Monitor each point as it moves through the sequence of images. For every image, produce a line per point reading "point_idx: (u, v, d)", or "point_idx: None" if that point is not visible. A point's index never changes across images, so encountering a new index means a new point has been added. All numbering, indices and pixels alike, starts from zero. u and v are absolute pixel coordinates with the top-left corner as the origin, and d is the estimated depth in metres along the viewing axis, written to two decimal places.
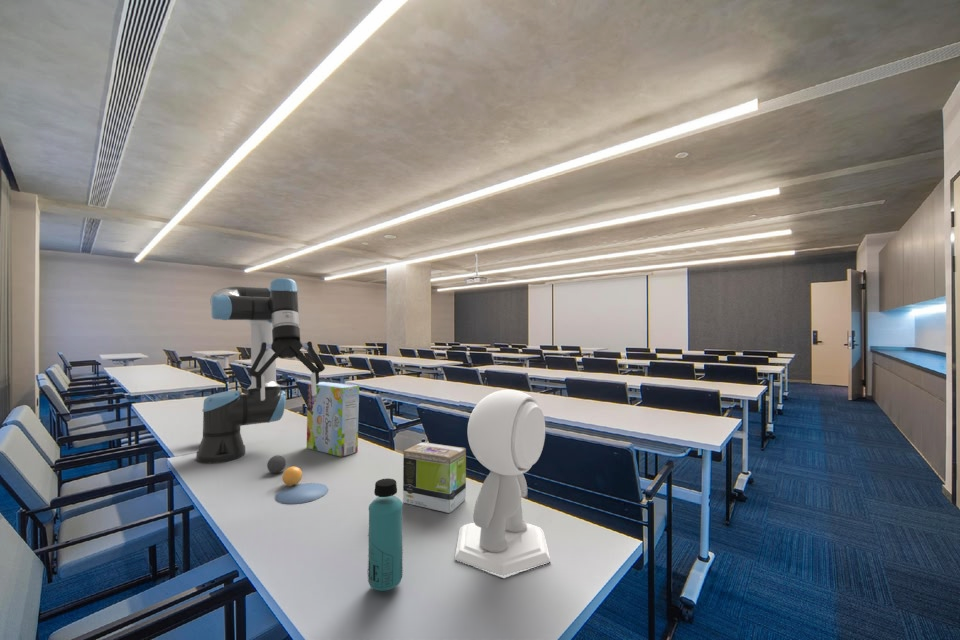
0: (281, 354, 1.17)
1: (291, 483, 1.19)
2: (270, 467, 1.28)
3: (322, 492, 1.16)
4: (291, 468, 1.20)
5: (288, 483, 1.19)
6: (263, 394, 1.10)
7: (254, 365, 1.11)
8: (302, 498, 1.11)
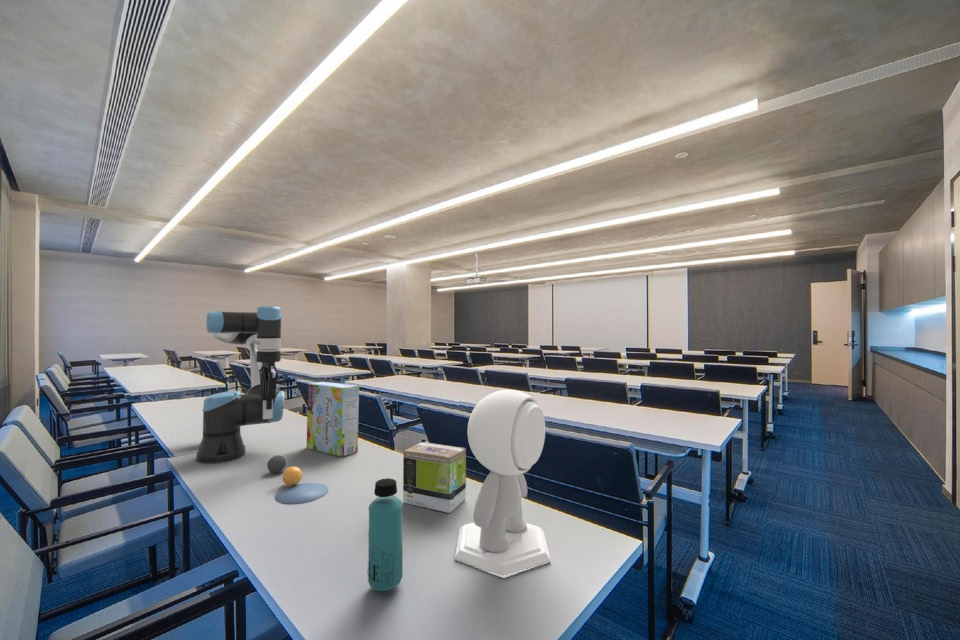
0: (263, 374, 1.39)
1: (291, 483, 1.19)
2: (270, 467, 1.28)
3: (322, 492, 1.16)
4: (291, 468, 1.20)
5: (288, 483, 1.19)
6: (263, 415, 1.38)
7: (260, 389, 1.40)
8: (302, 498, 1.11)
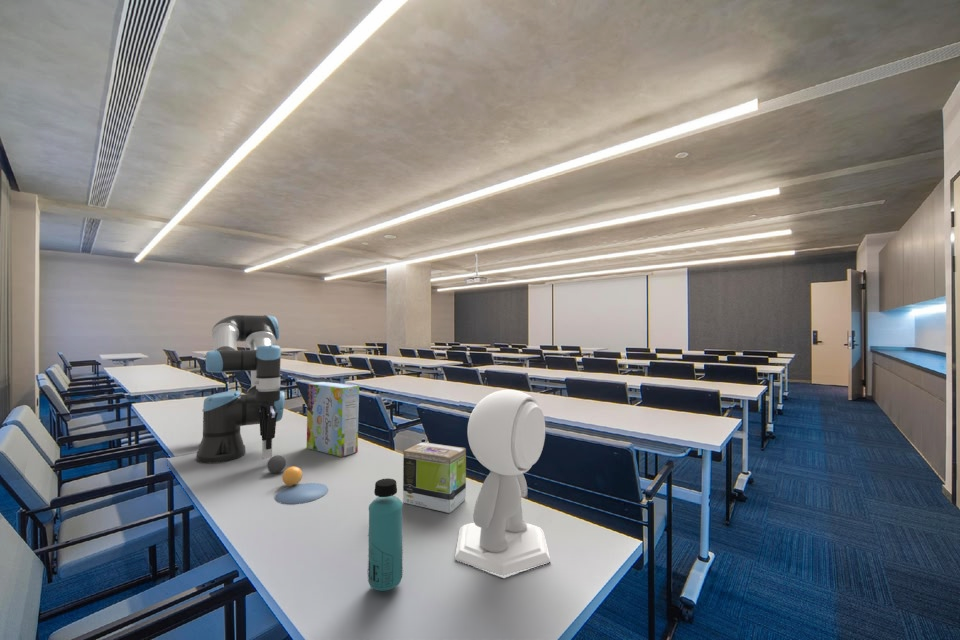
0: None
1: (291, 483, 1.19)
2: (270, 467, 1.28)
3: (322, 492, 1.16)
4: (291, 468, 1.20)
5: (288, 483, 1.19)
6: (262, 454, 1.37)
7: (260, 428, 1.40)
8: (302, 498, 1.11)
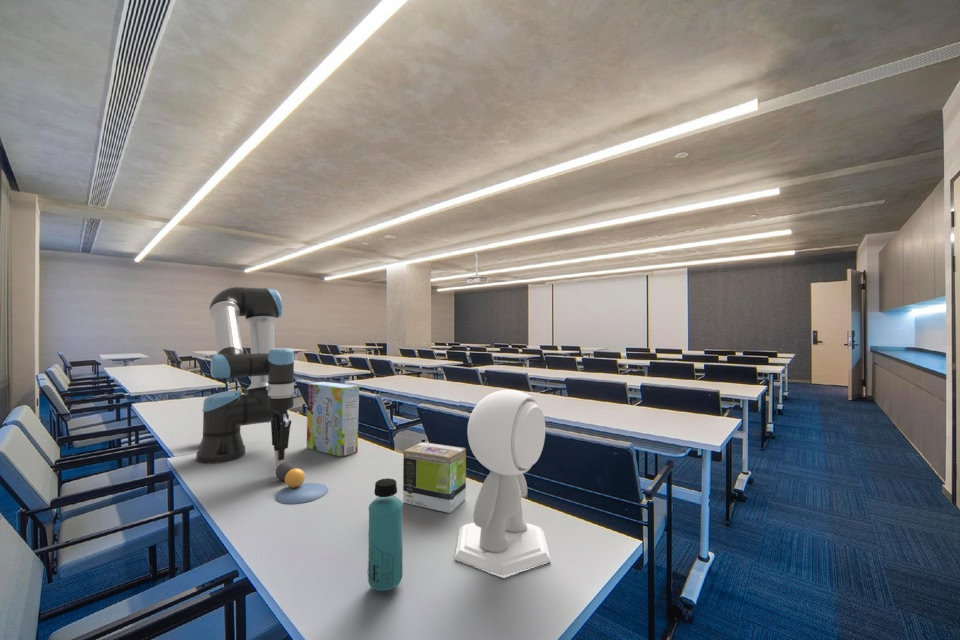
0: None
1: (292, 487, 1.18)
2: None
3: (322, 492, 1.16)
4: (296, 475, 1.17)
5: (289, 486, 1.18)
6: (274, 465, 1.28)
7: (272, 437, 1.31)
8: (302, 498, 1.11)
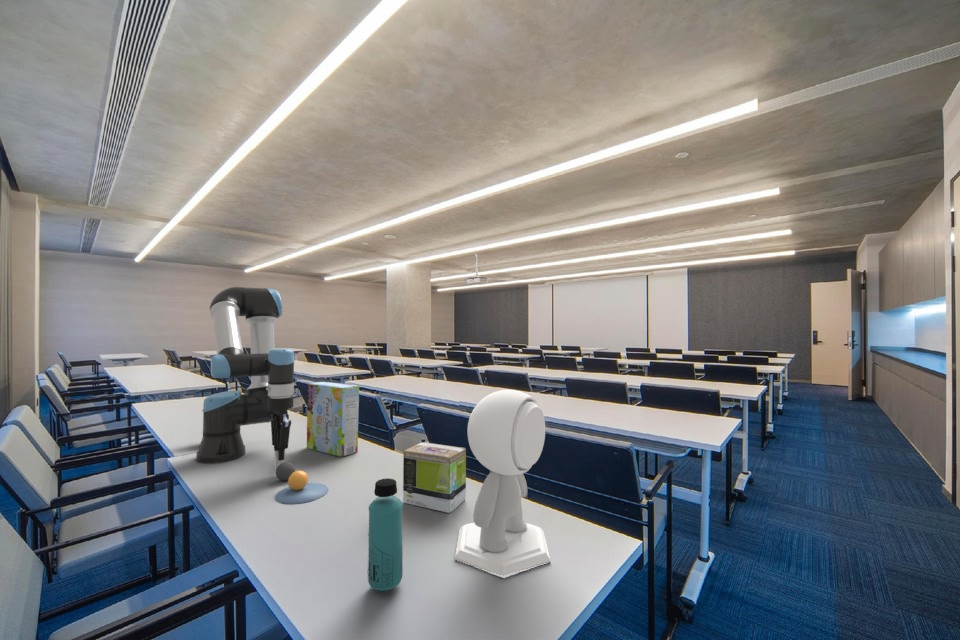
0: None
1: None
2: None
3: (322, 492, 1.16)
4: (299, 486, 1.15)
5: None
6: (274, 466, 1.28)
7: (272, 437, 1.31)
8: (302, 498, 1.11)
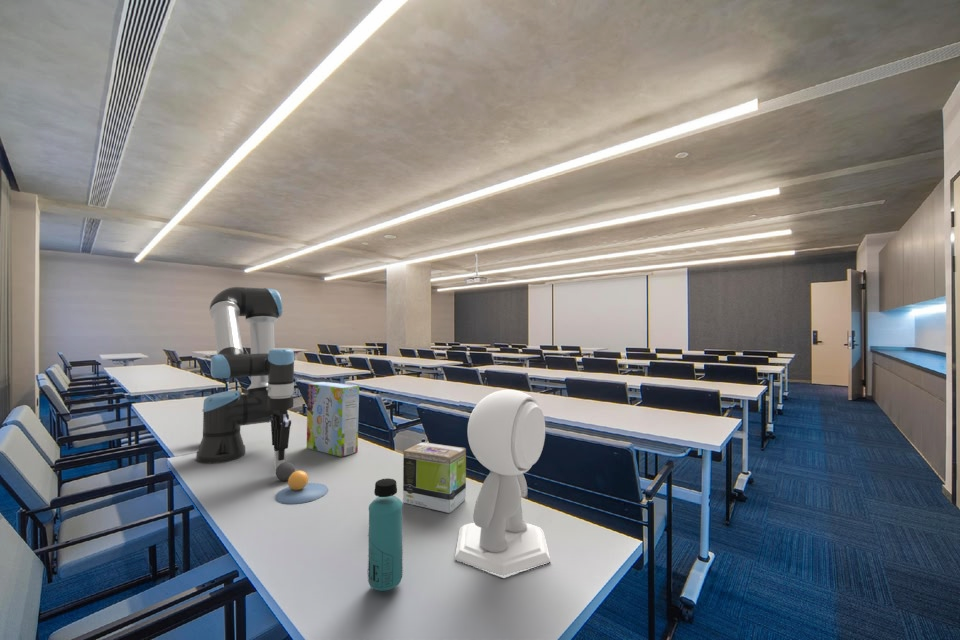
0: None
1: None
2: None
3: (322, 492, 1.16)
4: (299, 486, 1.15)
5: None
6: (274, 466, 1.28)
7: (272, 437, 1.31)
8: (302, 498, 1.11)
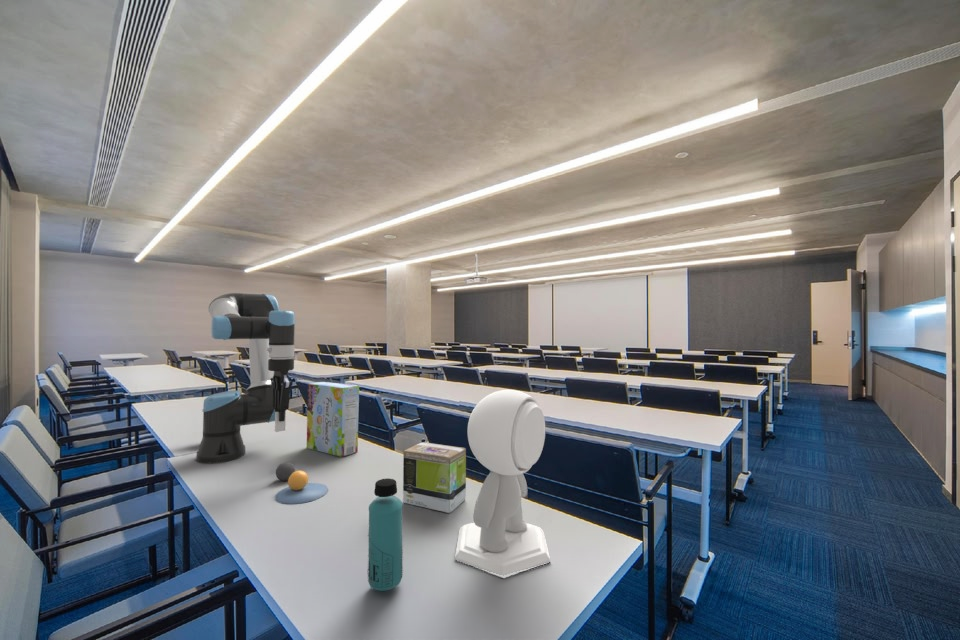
0: None
1: None
2: None
3: (322, 492, 1.16)
4: (299, 486, 1.15)
5: None
6: (275, 427, 1.28)
7: (272, 399, 1.31)
8: (302, 498, 1.11)
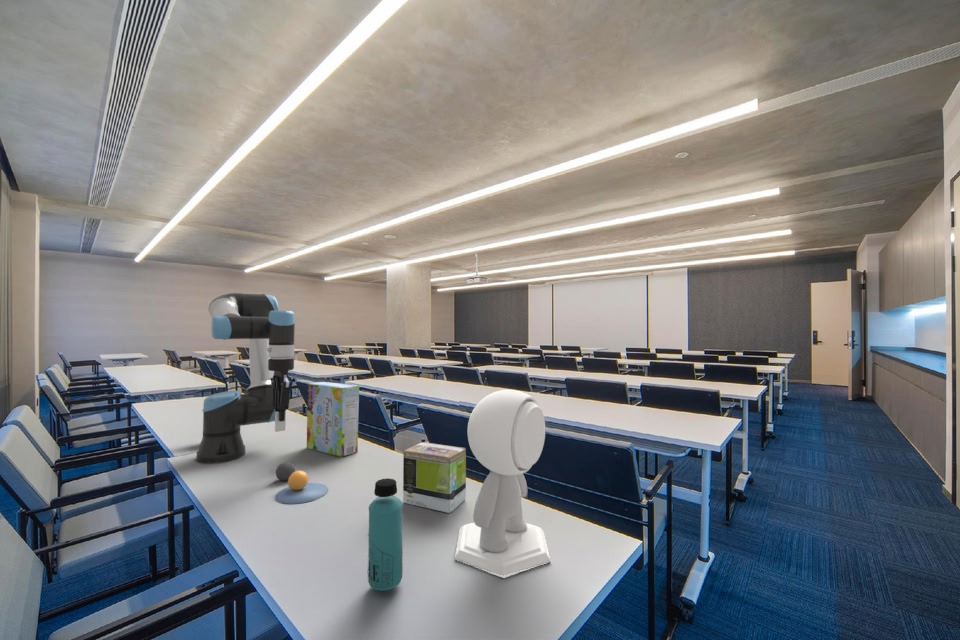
0: None
1: None
2: None
3: (322, 492, 1.16)
4: (299, 486, 1.15)
5: None
6: (275, 427, 1.28)
7: (272, 399, 1.31)
8: (302, 498, 1.11)
